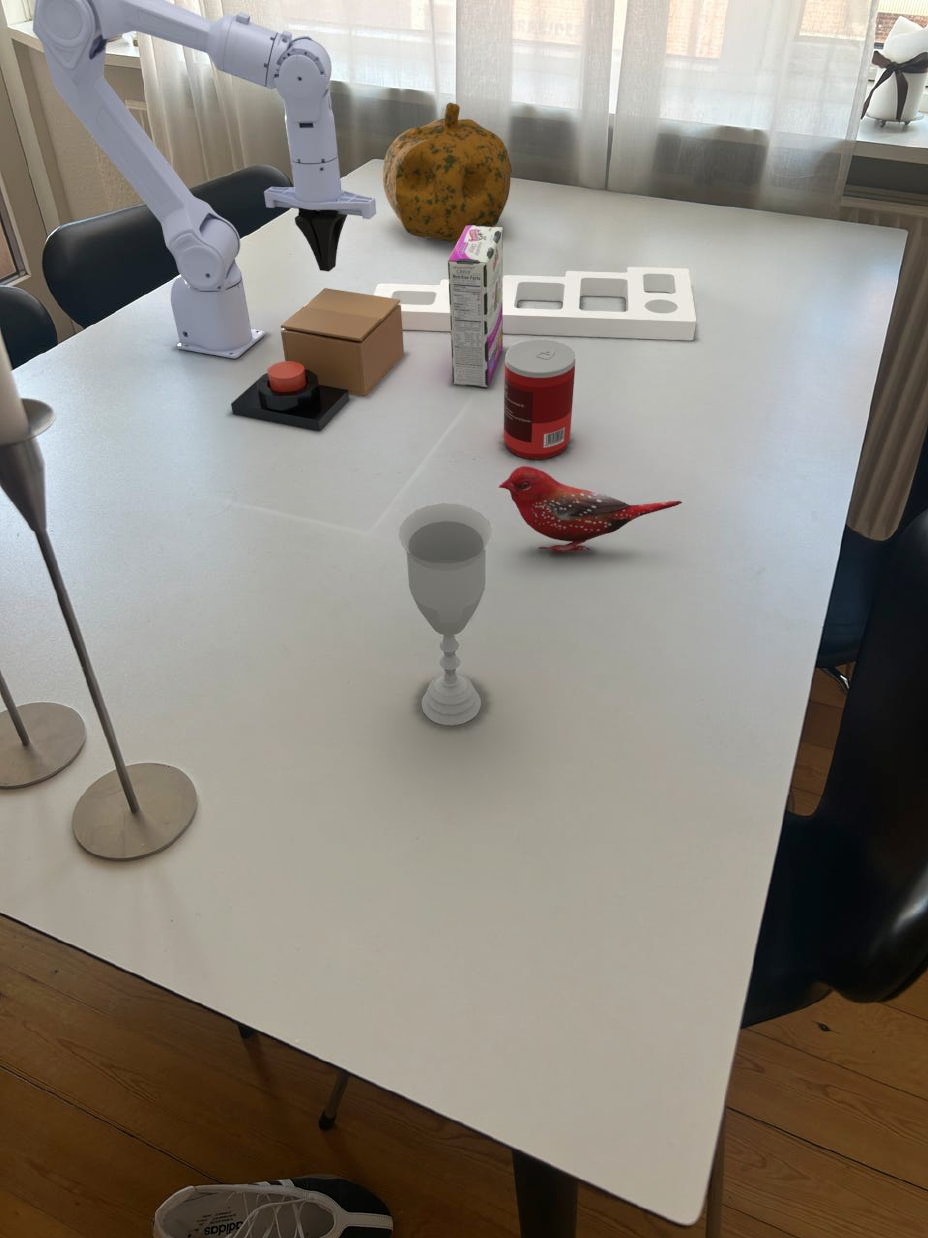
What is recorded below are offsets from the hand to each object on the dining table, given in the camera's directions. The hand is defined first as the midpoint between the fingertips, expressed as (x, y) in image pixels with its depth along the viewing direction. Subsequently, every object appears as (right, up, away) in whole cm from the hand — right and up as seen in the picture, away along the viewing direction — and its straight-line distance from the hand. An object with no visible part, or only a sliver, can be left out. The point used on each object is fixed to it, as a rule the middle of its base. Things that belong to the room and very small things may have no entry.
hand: (327, 268), depth 125 cm
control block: (-4, -19, -6) cm, 21 cm away
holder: (+28, 0, +15) cm, 31 cm away
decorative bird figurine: (+30, -39, -28) cm, 57 cm away
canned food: (+26, -25, -13) cm, 38 cm away
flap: (+3, -5, -1) cm, 6 cm away
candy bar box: (+19, -13, +1) cm, 23 cm away
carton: (+2, -13, +1) cm, 13 cm away
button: (-4, -17, -8) cm, 19 cm away
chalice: (+17, -53, -43) cm, 70 cm away
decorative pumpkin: (+15, +20, +38) cm, 45 cm away
